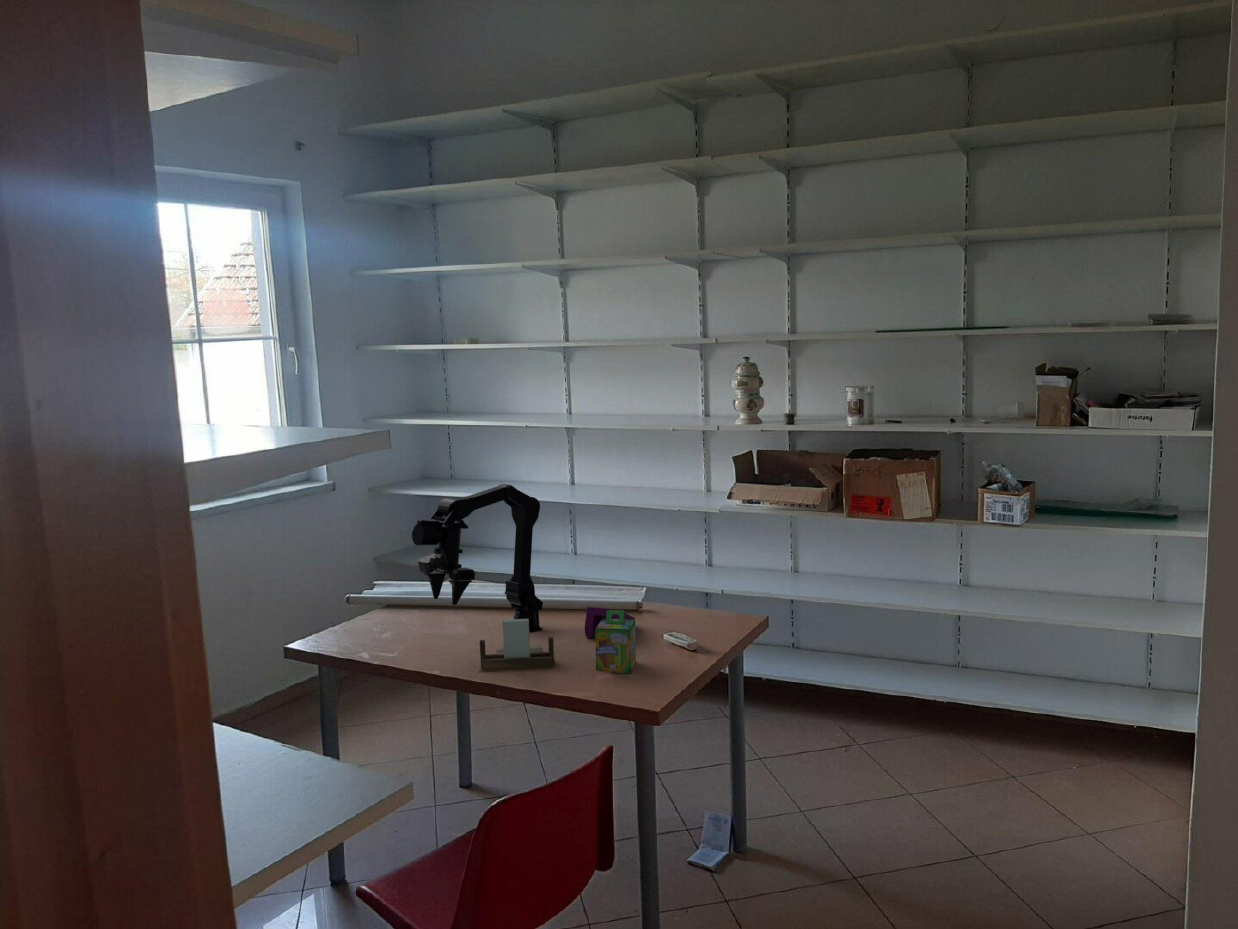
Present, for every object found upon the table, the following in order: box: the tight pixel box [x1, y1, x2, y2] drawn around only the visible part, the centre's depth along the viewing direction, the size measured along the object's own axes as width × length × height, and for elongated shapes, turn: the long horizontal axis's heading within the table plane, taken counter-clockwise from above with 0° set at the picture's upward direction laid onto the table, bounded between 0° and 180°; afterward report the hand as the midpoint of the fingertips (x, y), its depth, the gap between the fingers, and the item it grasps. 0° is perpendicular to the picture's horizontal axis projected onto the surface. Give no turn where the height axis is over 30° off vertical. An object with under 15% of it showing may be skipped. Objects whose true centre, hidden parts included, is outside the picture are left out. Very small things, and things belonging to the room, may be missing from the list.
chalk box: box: [594, 609, 637, 675], centre depth 235 cm, size 9×9×15 cm
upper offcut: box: [496, 645, 544, 654], centre depth 245 cm, size 5×12×2 cm, turn 101°
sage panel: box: [502, 618, 531, 658], centre depth 237 cm, size 2×6×12 cm, turn 91°
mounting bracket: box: [584, 606, 636, 640], centre depth 264 cm, size 10×8×18 cm
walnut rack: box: [478, 636, 556, 673], centre depth 237 cm, size 8×19×8 cm, turn 91°
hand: (445, 601), depth 251 cm, fingers open, 9 cm apart
